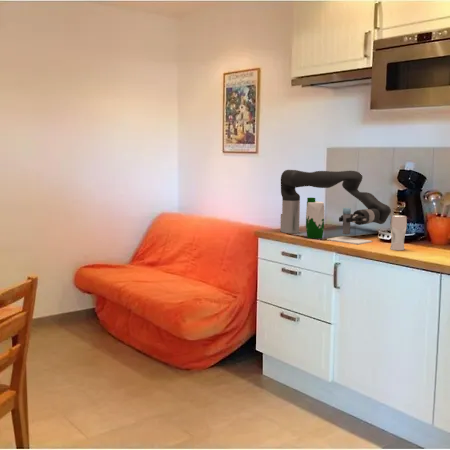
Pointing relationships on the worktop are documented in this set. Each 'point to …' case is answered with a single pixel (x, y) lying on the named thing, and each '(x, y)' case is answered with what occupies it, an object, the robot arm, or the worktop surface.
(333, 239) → the pad
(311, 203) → the milk carton
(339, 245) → the worktop surface
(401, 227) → the beer glass
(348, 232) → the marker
